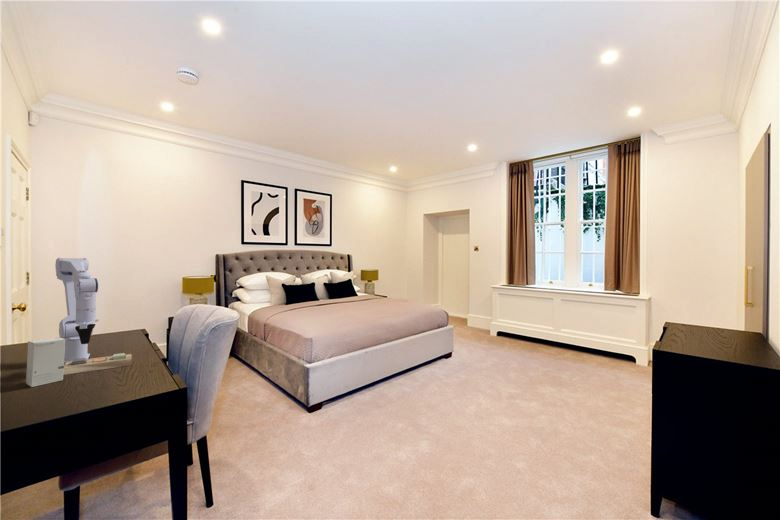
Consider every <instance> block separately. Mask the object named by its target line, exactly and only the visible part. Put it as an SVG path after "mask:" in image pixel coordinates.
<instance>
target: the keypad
mask: <svg viewBox="0 0 780 520" xmlns="http://www.w3.org/2000/svg"><path fill="white" fill-rule="evenodd" d="M100 358H106V361H102V362H94V363H93V360H94V359H100ZM129 366H132V353H125V359H117V360H113V355H110V356H109V355H108V356H101V357H95V358H88V359H86V364H79V365H72V361H68V362H66V363H64V372H63V376H65V375H66V376H67V375H72V374H73V375H74V374H79V373H87V372H94V371H100V370H107V369H116V368H122V367H129Z"/></svg>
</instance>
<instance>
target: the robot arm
mask: <svg viewBox="0 0 780 520" xmlns="http://www.w3.org/2000/svg"><path fill="white" fill-rule="evenodd" d="M89 265H90V264H89V260H88V259H87V258H86V257H82V258H81V257H80V258H79V257H77V258H75V257H74V258H73V257H69V258H68V257H57V258H56V259H55V274H56V275H55V276H56V279H57V280H60V281H62V283H63V286H64V294H65V303H66V304H65V305H66V312H67V316H65V317H64V318H63V319H60V321H59V324H58V335H59V336H58V337H60V338H63V339H65V353H64V364H65V363H66V362H68V361H73V359H79V358H86V359H90V358H89V357H90V354H91V353H88V348H89V347H88V346H89V343H90V340H91V336H92V335H93V334H94V328H95V327H96V323H97V322H100V319H99V318H96V310H97V308H96V306H97V305H96V303H97V301H96V300H97V299H96V297H97V293H98V292H99V281H98V279H97V278H96V277H95V278H93V277H92V274H91V273H90V271H88V270H89Z"/></svg>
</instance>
